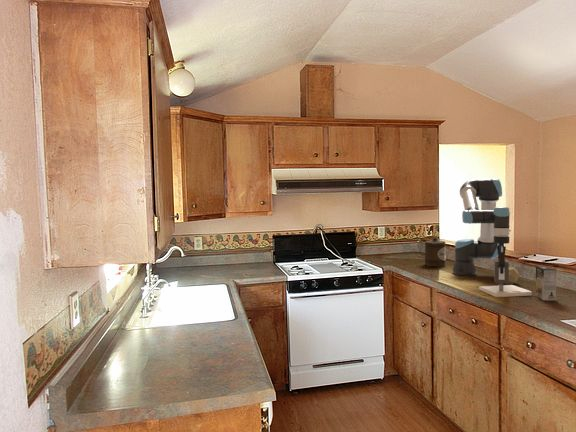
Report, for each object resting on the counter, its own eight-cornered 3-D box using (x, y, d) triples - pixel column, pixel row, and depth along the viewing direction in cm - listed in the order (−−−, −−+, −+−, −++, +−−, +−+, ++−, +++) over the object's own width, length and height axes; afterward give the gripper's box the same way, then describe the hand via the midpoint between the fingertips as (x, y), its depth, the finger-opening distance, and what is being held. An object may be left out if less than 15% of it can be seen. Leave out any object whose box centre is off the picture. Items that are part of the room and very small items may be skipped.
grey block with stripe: (494, 282, 214) (494, 260, 213) (494, 280, 220) (494, 258, 219) (508, 283, 211) (508, 261, 210) (507, 280, 217) (507, 259, 216)
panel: (479, 289, 226) (479, 277, 226) (512, 288, 228) (512, 276, 227) (496, 297, 210) (496, 283, 210) (531, 295, 212) (532, 282, 212)
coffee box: (534, 295, 211) (535, 265, 210) (548, 296, 210) (548, 265, 209) (542, 300, 202) (543, 269, 201) (556, 300, 201) (556, 269, 200)
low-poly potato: (516, 282, 245) (498, 271, 251) (525, 268, 239) (505, 258, 245) (508, 293, 235) (489, 282, 241) (517, 279, 229) (497, 268, 235)
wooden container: (443, 267, 295) (443, 238, 293) (423, 266, 302) (423, 237, 301) (446, 264, 307) (446, 235, 306) (426, 263, 315) (426, 235, 314)
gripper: (510, 237, 204) (510, 282, 205) (508, 234, 221) (507, 275, 222) (494, 237, 207) (494, 281, 208) (493, 233, 225) (492, 274, 226)
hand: (501, 278), depth 215 cm, fingers closed on grey block with stripe, 7 cm apart
